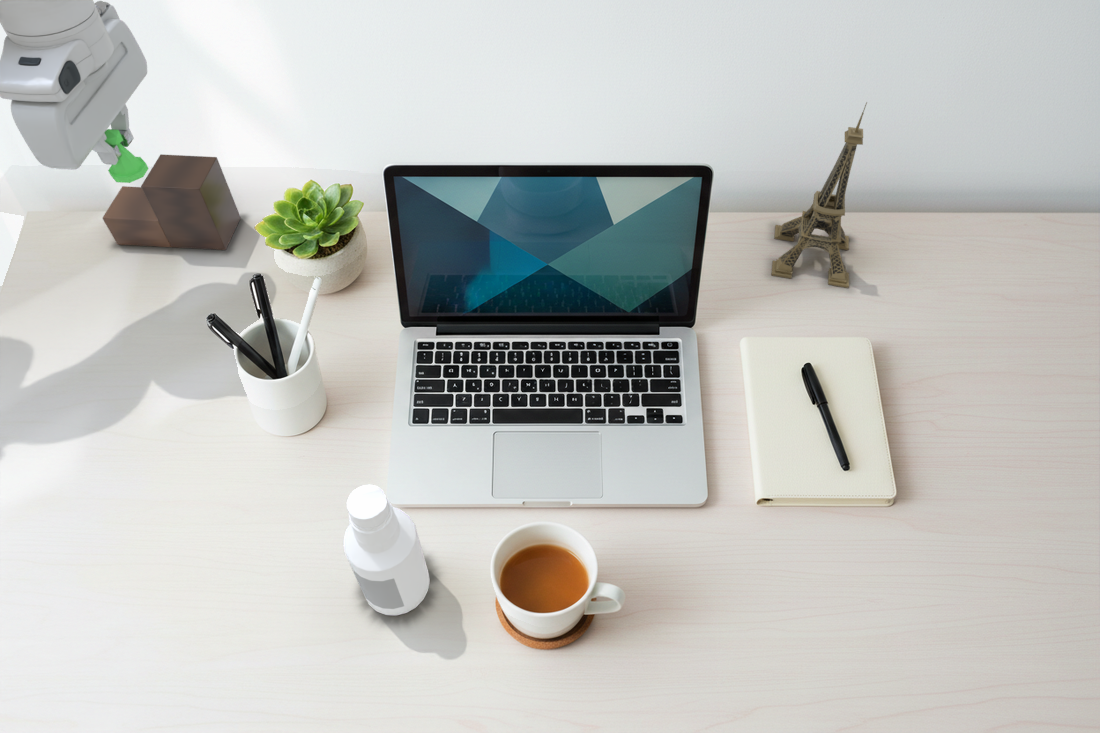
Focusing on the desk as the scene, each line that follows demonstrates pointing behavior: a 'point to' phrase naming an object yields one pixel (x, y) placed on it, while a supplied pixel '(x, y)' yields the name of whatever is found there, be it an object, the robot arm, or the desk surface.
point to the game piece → (125, 161)
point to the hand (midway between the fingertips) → (119, 152)
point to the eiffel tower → (823, 219)
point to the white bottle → (384, 552)
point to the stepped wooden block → (176, 206)
